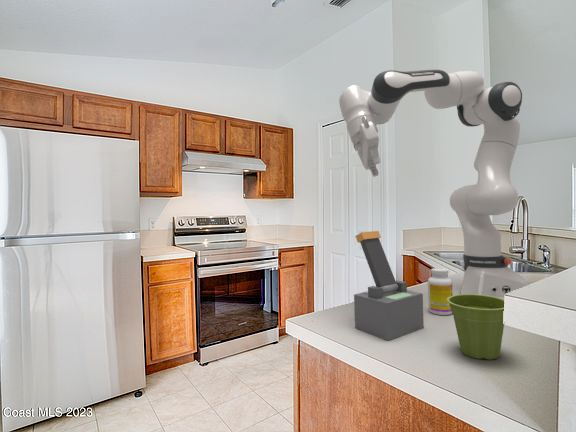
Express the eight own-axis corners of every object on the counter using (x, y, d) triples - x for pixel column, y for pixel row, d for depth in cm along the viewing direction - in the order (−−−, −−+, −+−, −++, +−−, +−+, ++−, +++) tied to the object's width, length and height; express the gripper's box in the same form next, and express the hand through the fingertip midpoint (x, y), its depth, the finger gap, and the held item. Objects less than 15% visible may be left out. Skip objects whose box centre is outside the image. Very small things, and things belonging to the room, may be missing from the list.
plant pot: (455, 338, 78) (453, 291, 78) (515, 350, 71) (513, 298, 70) (441, 356, 69) (440, 303, 69) (509, 372, 62) (507, 312, 61)
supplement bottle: (456, 316, 94) (454, 271, 93) (431, 315, 95) (430, 271, 95) (449, 309, 100) (448, 267, 100) (426, 308, 102) (425, 267, 101)
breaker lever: (377, 295, 85) (355, 236, 91) (394, 291, 89) (372, 234, 94) (384, 292, 83) (361, 232, 89) (401, 288, 87) (378, 230, 92)
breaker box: (355, 328, 87) (353, 285, 87) (389, 317, 95) (388, 277, 95) (388, 340, 78) (386, 292, 78) (423, 327, 86) (422, 283, 85)
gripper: (374, 109, 94) (390, 150, 90) (371, 143, 113) (384, 178, 109) (352, 116, 95) (367, 157, 91) (353, 149, 114) (366, 184, 110)
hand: (376, 169), depth 100 cm, fingers open, 8 cm apart
